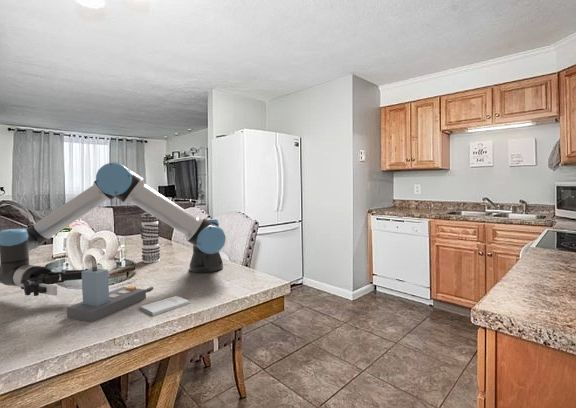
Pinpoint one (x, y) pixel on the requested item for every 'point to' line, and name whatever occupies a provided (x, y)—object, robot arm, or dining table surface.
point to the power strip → (108, 304)
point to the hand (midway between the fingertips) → (78, 283)
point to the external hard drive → (164, 305)
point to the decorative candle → (150, 238)
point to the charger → (95, 287)
